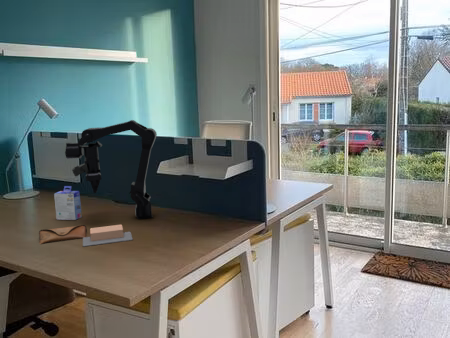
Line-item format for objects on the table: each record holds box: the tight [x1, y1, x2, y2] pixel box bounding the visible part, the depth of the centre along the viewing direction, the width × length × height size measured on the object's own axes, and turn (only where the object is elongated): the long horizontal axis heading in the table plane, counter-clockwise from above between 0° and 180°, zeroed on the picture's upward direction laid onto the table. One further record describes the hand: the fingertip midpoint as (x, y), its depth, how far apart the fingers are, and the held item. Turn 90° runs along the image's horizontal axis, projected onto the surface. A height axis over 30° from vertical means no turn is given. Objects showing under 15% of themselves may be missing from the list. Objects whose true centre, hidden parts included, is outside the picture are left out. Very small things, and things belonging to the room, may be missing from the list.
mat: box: [82, 231, 133, 247], centre depth 169 cm, size 18×10×1 cm, turn 107°
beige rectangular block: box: [89, 224, 124, 241], centre depth 172 cm, size 12×3×7 cm
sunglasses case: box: [38, 224, 88, 245], centre depth 173 cm, size 18×7×7 cm, turn 109°
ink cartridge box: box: [53, 185, 83, 221], centre depth 198 cm, size 10×6×14 cm, turn 78°
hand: (95, 192), depth 194 cm, fingers closed
